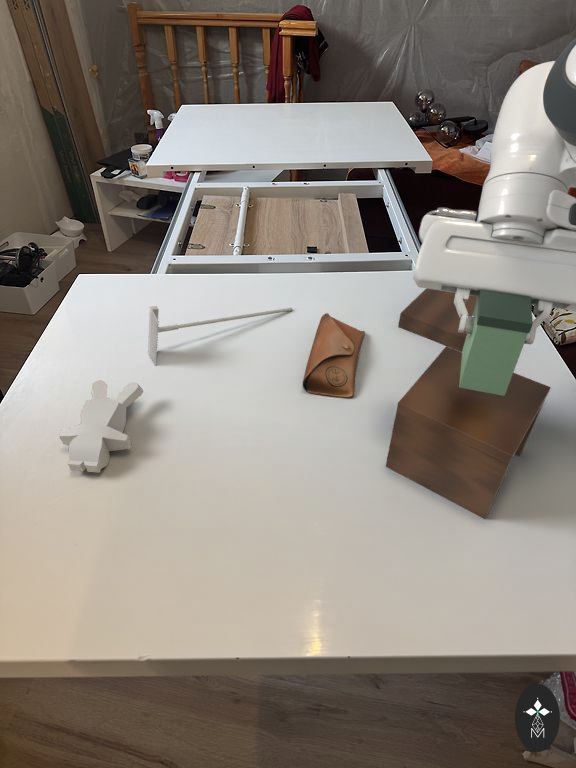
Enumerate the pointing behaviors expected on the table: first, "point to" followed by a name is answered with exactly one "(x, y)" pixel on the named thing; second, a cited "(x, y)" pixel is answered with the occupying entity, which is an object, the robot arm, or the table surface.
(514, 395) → the upper shelf
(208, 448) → the table surface
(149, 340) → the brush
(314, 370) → the sunglasses case
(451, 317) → the lower shelf
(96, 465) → the white musician cutout
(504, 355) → the green lidded box
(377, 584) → the table surface
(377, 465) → the table surface
